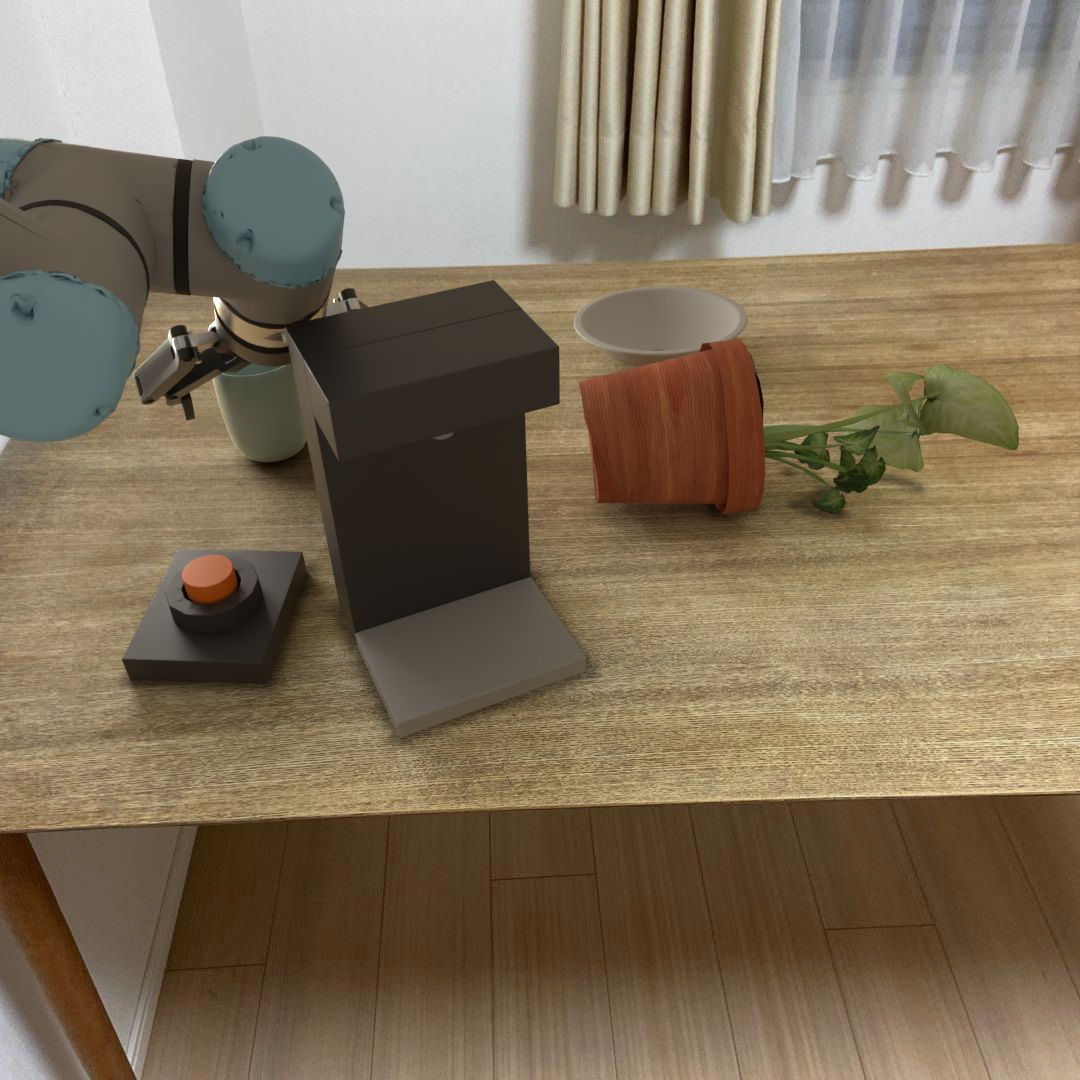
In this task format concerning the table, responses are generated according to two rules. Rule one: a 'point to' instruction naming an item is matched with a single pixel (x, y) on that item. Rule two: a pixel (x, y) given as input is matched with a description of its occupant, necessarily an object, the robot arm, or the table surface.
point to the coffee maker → (433, 495)
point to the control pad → (218, 622)
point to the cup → (262, 411)
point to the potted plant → (762, 430)
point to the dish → (658, 322)
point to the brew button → (209, 579)
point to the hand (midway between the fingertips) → (265, 386)
